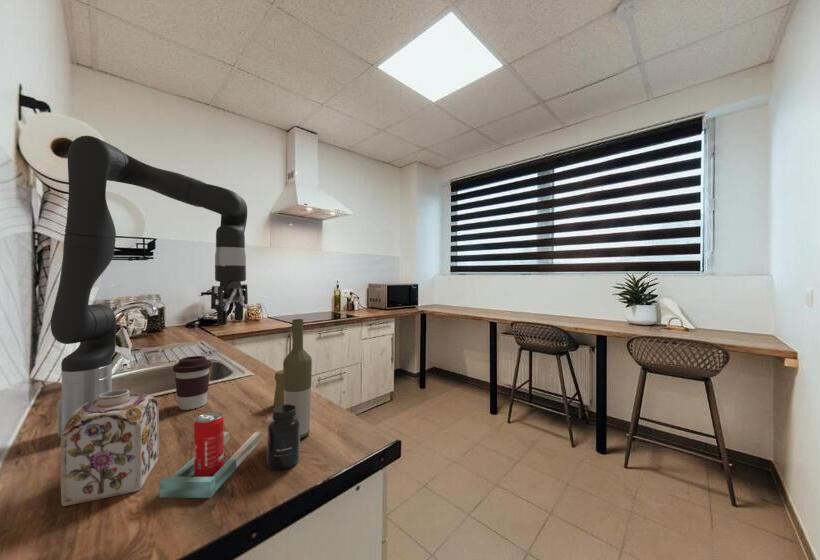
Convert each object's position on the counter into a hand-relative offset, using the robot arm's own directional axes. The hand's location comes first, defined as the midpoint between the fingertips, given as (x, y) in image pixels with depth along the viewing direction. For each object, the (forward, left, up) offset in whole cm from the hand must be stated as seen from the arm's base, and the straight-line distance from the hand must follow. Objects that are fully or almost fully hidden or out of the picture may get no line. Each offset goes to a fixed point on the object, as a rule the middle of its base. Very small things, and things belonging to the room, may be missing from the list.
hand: (230, 322), depth 90 cm
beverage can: (+8, -23, -28) cm, 38 cm away
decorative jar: (-9, -26, -28) cm, 39 cm away
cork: (+10, +12, -28) cm, 32 cm away
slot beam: (+8, -20, -28) cm, 35 cm away
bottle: (+21, -7, -28) cm, 36 cm away
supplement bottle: (+22, -19, -28) cm, 41 cm away
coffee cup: (-18, +11, -28) cm, 35 cm away
